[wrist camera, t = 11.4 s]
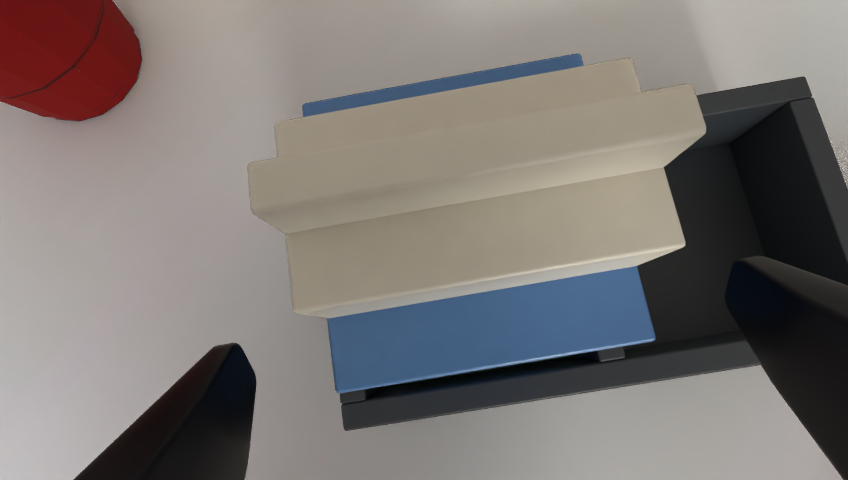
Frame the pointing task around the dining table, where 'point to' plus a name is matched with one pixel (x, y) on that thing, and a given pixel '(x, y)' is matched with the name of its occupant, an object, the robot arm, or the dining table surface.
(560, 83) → the carton
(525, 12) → the dining table surface
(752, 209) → the caddy
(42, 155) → the dining table surface
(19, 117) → the dining table surface
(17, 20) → the plastic cup
